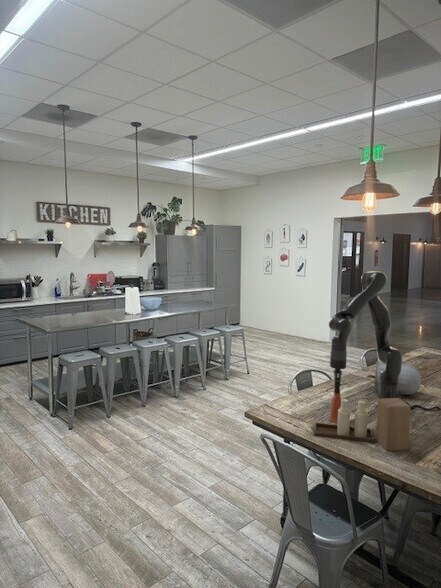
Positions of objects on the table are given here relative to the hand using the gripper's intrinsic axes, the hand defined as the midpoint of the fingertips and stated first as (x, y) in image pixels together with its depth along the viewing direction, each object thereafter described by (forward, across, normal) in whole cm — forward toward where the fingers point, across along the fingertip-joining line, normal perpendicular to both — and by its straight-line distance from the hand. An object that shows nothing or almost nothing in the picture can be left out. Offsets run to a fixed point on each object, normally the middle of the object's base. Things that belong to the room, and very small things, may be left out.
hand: (336, 389), depth 194 cm
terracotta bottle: (+16, 0, 0) cm, 16 cm away
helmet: (+16, +50, -33) cm, 62 cm away
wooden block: (+16, -19, -23) cm, 34 cm away
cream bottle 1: (+16, -14, -3) cm, 21 cm away
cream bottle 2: (+15, -14, -11) cm, 23 cm away
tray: (+16, -14, -3) cm, 22 cm away
